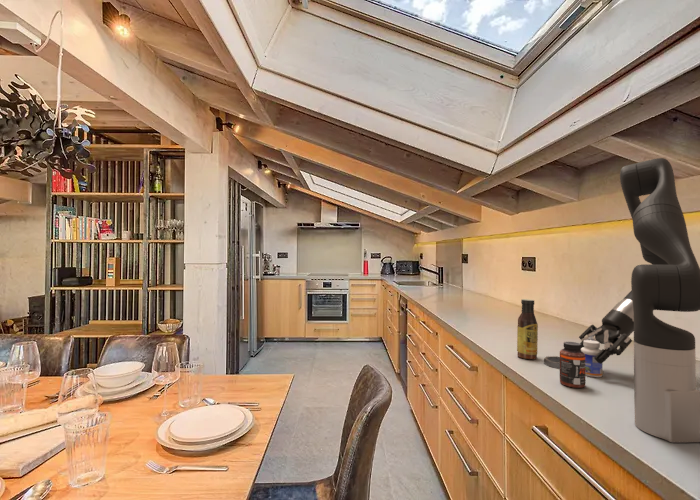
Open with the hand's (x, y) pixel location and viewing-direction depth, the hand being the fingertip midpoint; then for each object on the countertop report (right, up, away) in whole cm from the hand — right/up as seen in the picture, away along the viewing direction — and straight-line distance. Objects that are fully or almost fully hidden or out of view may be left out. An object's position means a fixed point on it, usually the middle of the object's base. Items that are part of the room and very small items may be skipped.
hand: (586, 356), depth 103 cm
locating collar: (-3, -5, +9) cm, 11 cm away
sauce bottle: (-9, -6, +17) cm, 20 cm away
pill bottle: (+1, -5, 0) cm, 6 cm away
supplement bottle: (-9, -5, -8) cm, 14 cm away
